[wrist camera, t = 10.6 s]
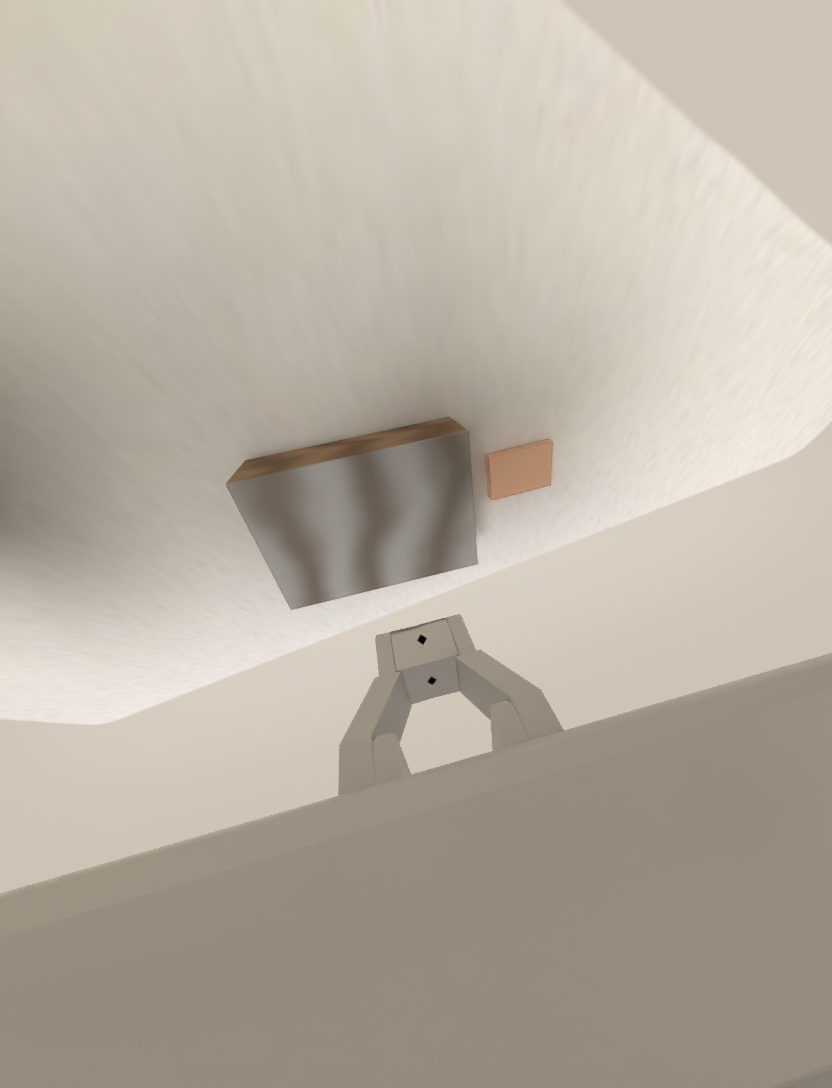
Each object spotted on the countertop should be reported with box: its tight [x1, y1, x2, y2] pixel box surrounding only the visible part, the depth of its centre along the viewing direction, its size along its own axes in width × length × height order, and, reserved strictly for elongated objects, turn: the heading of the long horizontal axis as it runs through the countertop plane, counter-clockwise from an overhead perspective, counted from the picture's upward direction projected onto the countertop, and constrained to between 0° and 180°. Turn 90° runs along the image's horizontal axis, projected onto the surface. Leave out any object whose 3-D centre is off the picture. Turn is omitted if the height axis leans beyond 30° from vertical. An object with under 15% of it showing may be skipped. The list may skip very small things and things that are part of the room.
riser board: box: [226, 417, 478, 610], centre depth 33 cm, size 20×14×6 cm
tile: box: [485, 439, 553, 500], centre depth 36 cm, size 7×5×2 cm
